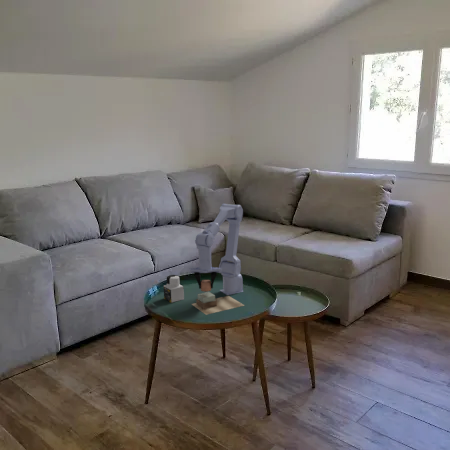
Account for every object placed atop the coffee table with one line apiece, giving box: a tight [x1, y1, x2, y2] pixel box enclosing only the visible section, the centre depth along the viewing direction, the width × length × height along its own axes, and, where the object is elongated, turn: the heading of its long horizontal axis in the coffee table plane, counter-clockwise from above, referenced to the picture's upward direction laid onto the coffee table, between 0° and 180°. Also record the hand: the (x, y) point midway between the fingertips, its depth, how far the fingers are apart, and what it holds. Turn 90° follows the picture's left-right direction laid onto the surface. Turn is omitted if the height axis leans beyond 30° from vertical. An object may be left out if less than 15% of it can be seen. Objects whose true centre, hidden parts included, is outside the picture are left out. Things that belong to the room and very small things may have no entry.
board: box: [191, 295, 245, 316], centre depth 226 cm, size 20×15×1 cm
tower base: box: [195, 298, 217, 309], centre depth 226 cm, size 7×7×2 cm
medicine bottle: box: [163, 274, 185, 303], centre depth 234 cm, size 7×7×12 cm
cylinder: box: [200, 279, 212, 293], centre depth 224 cm, size 5×5×4 cm
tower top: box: [197, 291, 216, 303], centre depth 225 cm, size 6×6×2 cm
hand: (206, 287), depth 224 cm, fingers closed on cylinder, 5 cm apart
